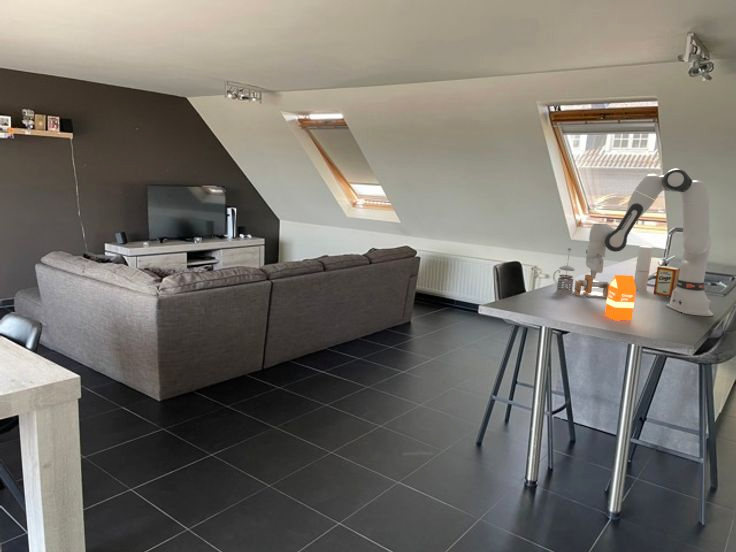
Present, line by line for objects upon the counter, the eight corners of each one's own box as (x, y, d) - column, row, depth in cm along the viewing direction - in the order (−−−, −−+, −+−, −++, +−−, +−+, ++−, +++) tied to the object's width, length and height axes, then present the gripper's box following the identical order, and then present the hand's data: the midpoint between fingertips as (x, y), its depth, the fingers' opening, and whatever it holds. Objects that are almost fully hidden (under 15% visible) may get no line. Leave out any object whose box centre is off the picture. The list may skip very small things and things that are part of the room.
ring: (591, 293, 291) (593, 277, 290) (587, 293, 292) (589, 277, 290) (587, 289, 300) (589, 274, 298) (583, 289, 300) (585, 274, 298)
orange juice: (604, 315, 252) (610, 273, 248) (622, 316, 252) (628, 274, 249) (613, 320, 244) (619, 276, 240) (631, 321, 245) (638, 277, 241)
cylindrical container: (643, 288, 323) (649, 246, 318) (648, 290, 316) (655, 248, 311) (631, 287, 323) (637, 245, 319) (635, 289, 316) (642, 247, 312)
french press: (570, 296, 289) (576, 250, 284) (548, 292, 296) (554, 247, 291) (575, 293, 297) (581, 248, 292) (554, 290, 304) (560, 245, 299)
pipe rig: (613, 298, 289) (615, 284, 288) (576, 295, 292) (578, 281, 290) (607, 294, 300) (609, 280, 298) (571, 291, 302) (573, 277, 301)
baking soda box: (675, 296, 304) (680, 267, 301) (671, 297, 300) (675, 268, 297) (657, 292, 311) (662, 265, 308) (653, 293, 307) (657, 266, 304)
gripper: (607, 256, 281) (604, 282, 284) (597, 250, 301) (593, 275, 303) (595, 255, 282) (591, 281, 284) (585, 249, 302) (582, 274, 304)
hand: (592, 278), depth 294 cm, fingers closed
